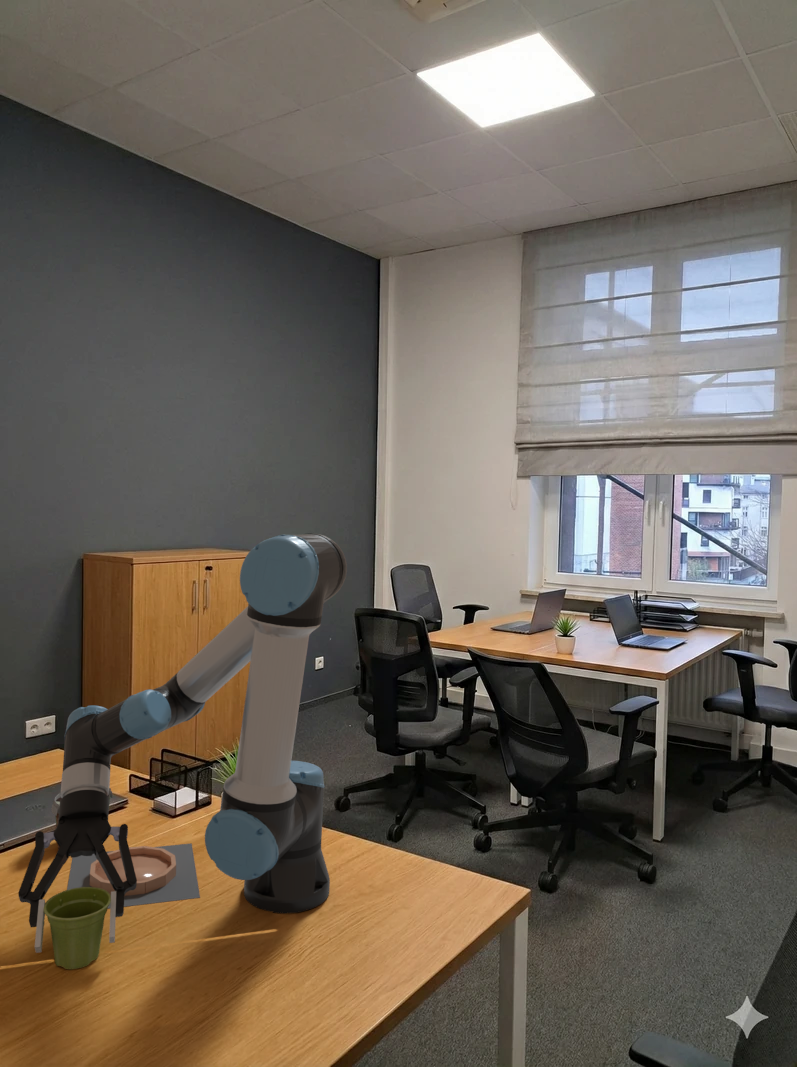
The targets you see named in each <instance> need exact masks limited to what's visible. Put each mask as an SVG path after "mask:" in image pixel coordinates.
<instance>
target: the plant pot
mask: <svg viewBox="0 0 797 1067" xmlns="http://www.w3.org/2000/svg"><path fill="white" fill-rule="evenodd" d="M110 903H111V895H110V894H109V893H108V892H107V891H106V890H104V889H101V888H96V887H80V888H73V889H70V890H67V889H66V890H63V891H61V892H58V893H56V894H54V895H52V896H51V897H49V898H48V900H46V901H45V905H44V913H45V917H46V918H47V921H48V923H49V928H50V934H51V939H52V940H51V942H52V948H53V957H54V963H55V965H56V967H62V968H64V969H65V970H76V969H81V968H84V967H87V966H88V965H89V964H90V963H92V962H93V961H96V960H97V959H98V957H99V955H100V948H101V942H102V941H101V940H102V934H103V930H104V924H105V916H106V914H107V911H108V909H107V908H108V906H109V905H110ZM89 966H90V965H89Z"/></svg>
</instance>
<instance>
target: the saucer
mask: <svg viewBox="0 0 797 1067" xmlns="http://www.w3.org/2000/svg"><path fill="white" fill-rule="evenodd" d="M156 847H157V846H148V845H141V846H130V847H129V850H130V854H131V858H132V862H133V866H134V871H135V875H136V879H137V886H136V888H135V889H134V890H130V891H128V892H126V893H125V895H124V896H128V895H137V894H145V893H148V892H151V891H153V890H156V889H158V888H161V887H164V886H166V885H167V884H168V883H169V882H170V881H171V880H172V879H173V878H174V877H175V876H176V859H175V855H174V854H172V853H170V852H168V851H167V850H165V849H163V848H156ZM112 851H113V852H110V853H107V854H108V856H109V858H110V860H111V861H112V863H113V865H114V867H115V869H116V870H117V872H118V874H119V876H120V878H121V880H122V881H123V882H124V881H127V879H126V875H125V871H124V867H123V863H122V858H121V854H120V850H119V849H117V850H112ZM90 886H91V887H96V888H101V889H104V890H106V891H107V892H108V893H109V894H110V895H111V892H113V891H115V890H114V889H113V887H112V885H111V883H110V881H109V879H108V877H107V876H106V874H105V872H104V870H103V868H102V866H101V865H100V863H99V861H98V860H96V861H94V862H93V863H92V864H91V869H90Z"/></svg>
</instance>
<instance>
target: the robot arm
mask: <svg viewBox="0 0 797 1067" xmlns="http://www.w3.org/2000/svg"><path fill="white" fill-rule="evenodd" d="M347 566H348V563H347V559H346V556H345V553H344V552H343V550H342V548H341V547H340V545H338V543H337V542H335V540H333V539H332V538H330V537H328V536H327V535H323V534H321V533H314V532H313V533H304V534H280V535H279V534H278V535H276V536H273V537H270V538H266V539H265V540H262V541H261V542H259V543H257V544H256V545H255V546H254V547H253V548H251V549H250V550H249V552H248V553H247V554H246V555H245V558H244V559H243V562H242V564H241V567H240V573H239V585H240V590H241V592H242V594H243V595H244V597H245V599H246V602H247V603H248V604H247V606H246V607H245V608H244V609H243V610H242V611H241V612H240V613H239V614H238V615H237V616H236V617H234V619H233V620H231V621H230V622H229V623H228V624H227V625H226V626H225V627H224V628H223V629H221V631H219V633H218V634H216V636H214V638H213V639H211V640H210V641H209V642H208V643H207V644H206V645H204V647H203V648H202V649H201V650H200V651H198V652H197V654H195V655H194V656H193V657H192V658H191V659H190V660H189V661H188V662H187V663H186V664H185V665H184V666H183V667H181V668H180V669H179V670H178V672H176V673H175V674H174V675H173V676H172V677H171V678H169V680H167V681H166V682H165V683H164V684H163V685H161V686H158V687H157V688H156V687H155V688H154V689H145V690H142V691H139V692H136V694H135V693H134V694H131V695H129V696H128V697H127V698H126V699H124V700H123V701H121V702H119V703H117V704H115V705H114V706H112V707H110V708H106V707H104V706H99V705H87V706H85V707H83V706H80V707H78V708H75V709H74V710H73V711H72V712H70V714H69V716H68V718H67V722H66V729H65V733H64V748H63V761H62V763H63V764H62V774H61V785H60V793H61V795H60V796H61V798H62V799H61V800H60V807H59V818H58V825H57V828H56V827H55V829H54V831H51V832H50V831H49V832H45V833H44V832H43V831H41V830H40V831H39V830H38V831H37V832H35V834H34V836H35V837H34V841H35V845H34V848H33V851H32V854H31V858H30V860H29V862H28V865H27V868H26V870H25V874H24V876H23V879H22V882H21V884H20V887H19V889H18V892H17V895H18V899H19V901H20V903H27V904H30V908H29V916H28V917H29V918H28V923H29V926H30V928H36V929H35V937H34V938H35V941H34V951H35V953H36V954H37V953H42V952H43V941H44V940H43V939H44V931H45V930H44V929H45V927H44V926H45V917H46V914H45V913H44V905H45V903H46V899H44V898H45V896H46V895H47V893H48V891H49V889H50V888H51V886H52V884H53V883H54V882H55V879H56V878H57V876H58V874H59V873H60V871H61V870H62V868H63V866H64V865H65V864H66V863H67V861H68V859H69V858H71V859H72V858H74V857H78V856H81V855H82V856H92V854H95V856H96V858H97V860H98V861H99V863H100V865H101V866H102V868H103V870H104V872H105V874H106V876H107V877H108V879H109V881H110V883H111V885H112V887H113V889H114V890H115V891H113V892H111V906H110V909H109V910H110V911H109V912H110V913H109V932H108V934H109V936H108V937H109V938H108V940H109V941H108V942H109V944H113V943H115V942H116V941H115V940H116V920H117V919H116V918H120V917H123V915H124V912H125V911H124V910H125V907H124V895H125V893H126V892H128V891H130V890H134V889H135V888H136V886H137V879H136V875H135V871H134V866H133V862H132V858H131V854H130V850H129V842H128V836H129V835H128V834H129V827H128V824H126V823H123V824H121V825H120V826H111V824H110V823H109V822H110V821H109V812H110V811H109V810H110V803H109V797H108V795H109V788H111V787H110V786H111V784H110V783H111V764H112V762H111V759H112V757H114V756H115V755H116V754H119V753H121V752H122V751H124V750H127V749H129V748H132V747H133V746H135V745H138V744H139V743H141V742H143V741H146V740H148V739H152V738H153V737H155V736H157V735H158V734H161V733H163V732H164V731H166V730H169V729H172V727H175V726H178V725H180V724H181V723H184V722H188V721H189V720H190V721H191V719H193V718H194V717H195V716H197V715H199V714H200V713H201V712H202V711H203V709H204V707H205V704H206V702H207V701H208V700H209V699H211V697H213V696H214V695H215V693H217V692H218V691H219V690H221V689H222V688H223V687H224V686H225V685H226V684H227V683H228V682H229V681H230V680H231V679H232V678H234V677H235V676H236V675H237V674H238V673H239V672H240V671H242V669H243V668H245V667H246V666H247V665H248V664H249V671H248V677H247V678H248V679H247V685H246V691H245V697H244V698H245V699H244V706H243V714H242V721H241V729H240V736H239V743H238V749H237V750H238V751H237V758H236V764H235V771H234V773H233V774H231V775H230V776H229V777H227V778H226V779H225V780H224V783H223V786H222V787H223V788H222V796H221V803H220V809H219V811H217V813H214V815H212V817H211V819H210V820H209V822H208V824H206V825H207V826H206V829H205V833H204V844H205V849H206V852H207V854H208V856H209V858H210V860H212V861H213V862H214V863H215V867H216V868H217V869H218V870H219V871H220V872H222V874H224V875H226V876H228V877H231V878H233V879H235V880H241V881H244V884H243V896H244V898H245V900H246V901H247V902H248V903H249V904H250V905H251V906H253V907H255V908H257V909H260V910H263V911H268V912H272V913H274V914H295V913H302V912H305V911H309V910H312V909H314V908H316V907H318V906H320V905H321V904H322V903H324V902H326V900H327V898H329V894H330V885H331V883H330V882H331V881H330V880H331V878H330V874H329V871H328V868H327V864H326V862H325V861H326V860H325V857H324V853H323V850H322V836H323V835H322V833H323V814H324V813H323V811H324V791H325V790H324V789H325V784H324V772H323V770H322V769H321V767H319V766H318V765H316V764H313V763H310V762H308V761H306V762H305V761H301V760H292V759H293V758H292V757H293V754H294V753H293V752H294V744H295V738H296V731H297V723H298V716H299V710H300V709H299V708H300V702H301V697H302V696H301V695H302V689H303V681H304V673H305V667H306V661H307V653H308V647H309V639H310V635H311V634H312V632H314V631H316V630H317V629H318V628H319V627H321V624H322V619H323V618H322V617H323V610H324V603H326V602H327V601H328V600H330V599H331V598H333V597H334V596H335V595H336V594H337V593H338V592H339V591H340V590H341V588H342V586H344V583H345V580H346V578H347V573H348V567H347ZM110 836H112V837H113V840H114V841H115V842H118V850H120V854H121V858H122V863H123V867H124V871H125V875H126V879H127V881H124V882H123V881H122V880H121V878H120V876H119V874H118V872H117V870H116V869H115V867H114V865H113V863H112V861H111V860H110V858H109V856H108V854H107V852H108V851H106V848H105V846H104V844H105V842H106V841H107V839H108V838H109V837H110ZM53 841H54V842H56V844H57V846H58V845H59V846H60V848H59V849H58V850H57V852H56V854H55V856H54V858H53V860H52V861H51V863H50V864H49V866H48V867H47V869H46V871H45V872H44V874H43V875H42V878H40V880H39V882H38V884H37V885H36V887H35V889H34V890H33V886H34V883H35V882H36V881H35V880H36V878H37V875H38V872H39V869H40V867H41V864H42V861H43V859H44V856H45V852H46V850H45V849H48V848H49V847H50V846H51V843H52V842H53Z"/></svg>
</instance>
